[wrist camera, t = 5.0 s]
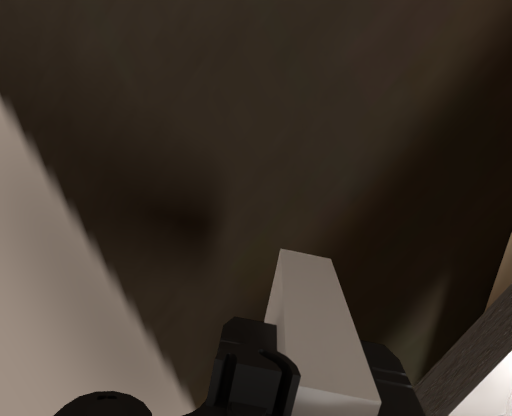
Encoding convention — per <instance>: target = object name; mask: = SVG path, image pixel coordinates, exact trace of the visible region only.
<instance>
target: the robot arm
mask: <svg viewBox="0 0 512 416" xmlns="http://www.w3.org/2000/svg"><path fill="white" fill-rule="evenodd" d="M411 387H412V385H411V383H410V381H409V379H408V377H407V376H406V373H405V371H404V369H403V367H402V365H401V362H400V360H399V359H398V358H397V357H396V356H395V355H394V354H393V353H392V352H391V351H390V350H389V349H388V348H387V347H386V346H385V345H381V344H376V343H371V342H366V341H362V340H359V337H358V334H357V332H356V329H355V326H354V323H353V320H352V318H351V315H350V312H349V309H348V306H347V303H346V301H345V298H344V295H343V292H342V289H341V286H340V284H339V281H338V278H337V275H336V272H335V269H334V267H333V264H332V261H331V259H329V258H324V257H319V256H314V255H309V254H304V253H300V252H295V251H290V250H285V249H281V250H280V254H279V258H278V263H277V267H276V272H275V276H274V281H273V285H272V289H271V294H270V298H269V303H268V307H267V312H266V316H265V320H264V322H259V321H254V320H249V319H244V318H239V317H233V318H232V319H231V320H230V321H228V322H227V323H226V324H225V325H223V330H222V334H221V339H220V344H219V348H218V353H217V356H216V358H215V361H214V366H213V371H212V376H211V381H210V386H209V391H208V396H207V399H206V401H205V402H204V403H203V404H202V405H201V406H200V407H199V408H198V409H196V410H195V411H193V412H191V413H189V414H186V415H183V416H426V415H425V413H424V411H423V409H422V406H421V404H420V402H419V400H418V398H417V396H416V394H415V392H414V390H413V389H411ZM54 416H152V413H151V411H150V410H149V409H148V408H147V406H146V405H145V404H144V403H143V402H142V401H140V400H138V399H137V398H135V397H133V396H131V395H128V394H124V393H120V392H115V391H107V392H105V391H104V392H93V393H90V394H86V395H83V396H79V397H78V398H76V399H74V400H73V401H72V402H70V403H68V404H66V405H65V406H64V407H63V408H61V409H60V410H59V411H58V412H57V413H56V414H55V415H54Z"/></svg>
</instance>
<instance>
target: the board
mask: <svg viewBox="0 0 512 416" xmlns="http://www.w3.org/2000/svg"><path fill="white" fill-rule="evenodd" d="M511 283H512V233H511V236H510V239H509V242H508V245H507V247H506V250H505V253H504V256H503V259H502V262H501V265H500V268H499V271H498V274H497V277H496V280H495V283H494V285H493V288H492V291H491V294H490V297H489V300H488V303H487V306H486V309H485V311H486V310H487V309H488V308H489V307H490V306H491V305H492V304H493V303H494V302H495V300H496V299H497V298H498V297H499V296H500V295H501V294H502V293H503V292H504V291H505V290H506V289H507V288H508V287H509V286H510V285H511Z"/></svg>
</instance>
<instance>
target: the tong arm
mask: <svg viewBox="0 0 512 416" xmlns="http://www.w3.org/2000/svg"><path fill="white" fill-rule="evenodd" d="M413 390H414V392H415V394H416V396H417V398H418V400H419V402H420V404H421V406H422V409H423V411H424V413H425V415H426V416H512V283H511V285H510V286H509V287H508V288H507V289H506V290H505V291H504V292H503V293H502V294H501V295H500V296H499V297H498V298H497V299H496V300H495V302H494V303H493V304H492V305H491V306H490V307H489V308H488V309H487V310H486V311H485V312H484V313H483V314H482V315H481V316H480V317H479V319H478V320H477V321H476V322H475V323H474V324H473V325H472V326H471V327H470V328H469V329H468V330H467V331H466V332H465V333H464V334H463V336H462V337H461V338H460V339H459V340H458V341H457V342H456V343H455V344H454V345H453V346H452V347H451V348H450V349H449V350H448V351H447V353H446V354H445V355H444V356H443V357H442V358H441V359H440V360H439V361H438V362H437V363H436V364H435V365H434V366H433V367H432V368H431V370H430V371H429V372H428V373H427V374H426V375H425V376H424V377H423V378H422V379H421V380H420V381H419V382H418V383H417V384H416V385H415V387H414V388H413Z"/></svg>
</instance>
